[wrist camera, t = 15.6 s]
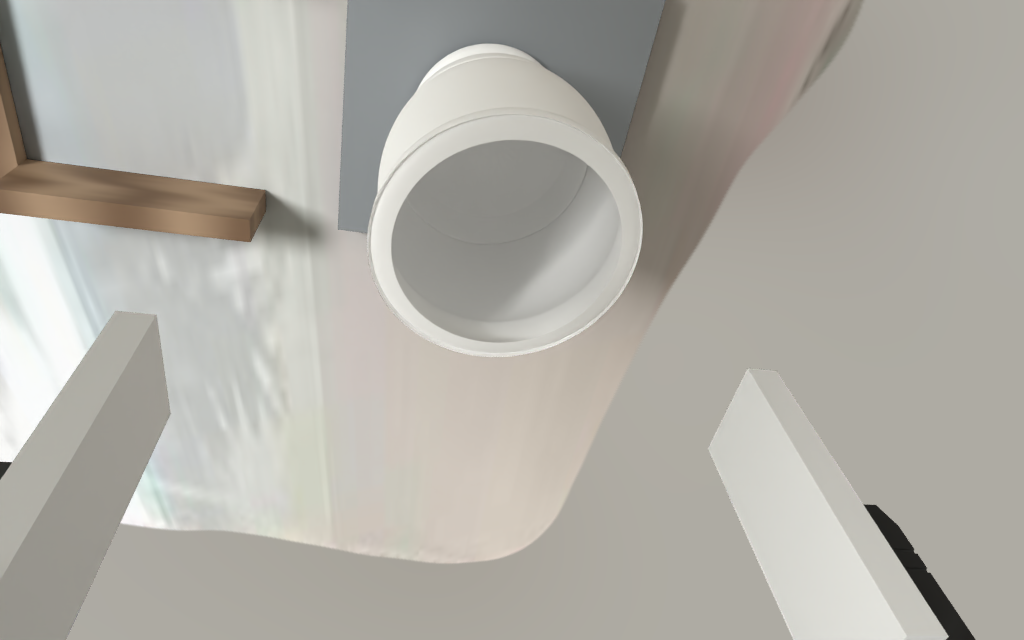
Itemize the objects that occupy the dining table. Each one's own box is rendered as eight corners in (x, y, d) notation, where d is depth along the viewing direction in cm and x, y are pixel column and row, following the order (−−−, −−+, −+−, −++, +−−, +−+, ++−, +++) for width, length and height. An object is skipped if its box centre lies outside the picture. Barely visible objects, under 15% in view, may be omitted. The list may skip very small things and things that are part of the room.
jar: (465, 237, 41) (475, 398, 29) (351, 101, 36) (304, 228, 24) (612, 138, 39) (692, 271, 26) (512, -25, 33) (552, 47, 21)
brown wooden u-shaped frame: (5, 178, 38) (-36, 208, 35) (-82, -165, 29) (-148, -168, 26) (265, 211, 41) (250, 242, 38) (258, -97, 32) (237, -91, 29)
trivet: (340, 218, 42) (337, 229, 40) (354, -74, 33) (350, -71, 32) (586, 249, 44) (590, 260, 43) (660, -12, 36) (667, -8, 34)
